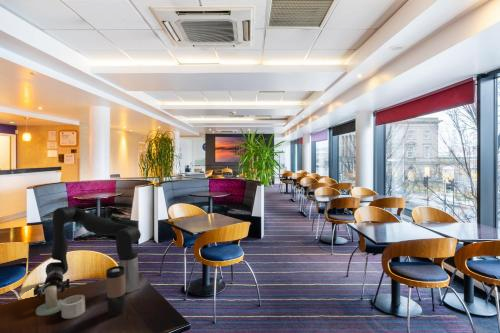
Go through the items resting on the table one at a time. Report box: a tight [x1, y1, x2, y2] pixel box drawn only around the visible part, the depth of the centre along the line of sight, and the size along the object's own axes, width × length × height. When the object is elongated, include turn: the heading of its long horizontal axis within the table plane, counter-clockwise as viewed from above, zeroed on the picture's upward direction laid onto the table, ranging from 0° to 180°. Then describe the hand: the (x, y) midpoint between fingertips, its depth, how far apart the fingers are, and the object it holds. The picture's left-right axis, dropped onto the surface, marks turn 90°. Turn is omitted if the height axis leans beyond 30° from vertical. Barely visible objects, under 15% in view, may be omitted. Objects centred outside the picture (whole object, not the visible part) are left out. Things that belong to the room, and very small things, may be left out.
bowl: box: [60, 294, 86, 320], centre depth 125 cm, size 9×9×6 cm
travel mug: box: [105, 265, 126, 317], centre depth 125 cm, size 8×8×20 cm
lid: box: [35, 286, 64, 317], centre depth 129 cm, size 12×12×10 cm
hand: (51, 293), depth 128 cm, fingers open, 8 cm apart
